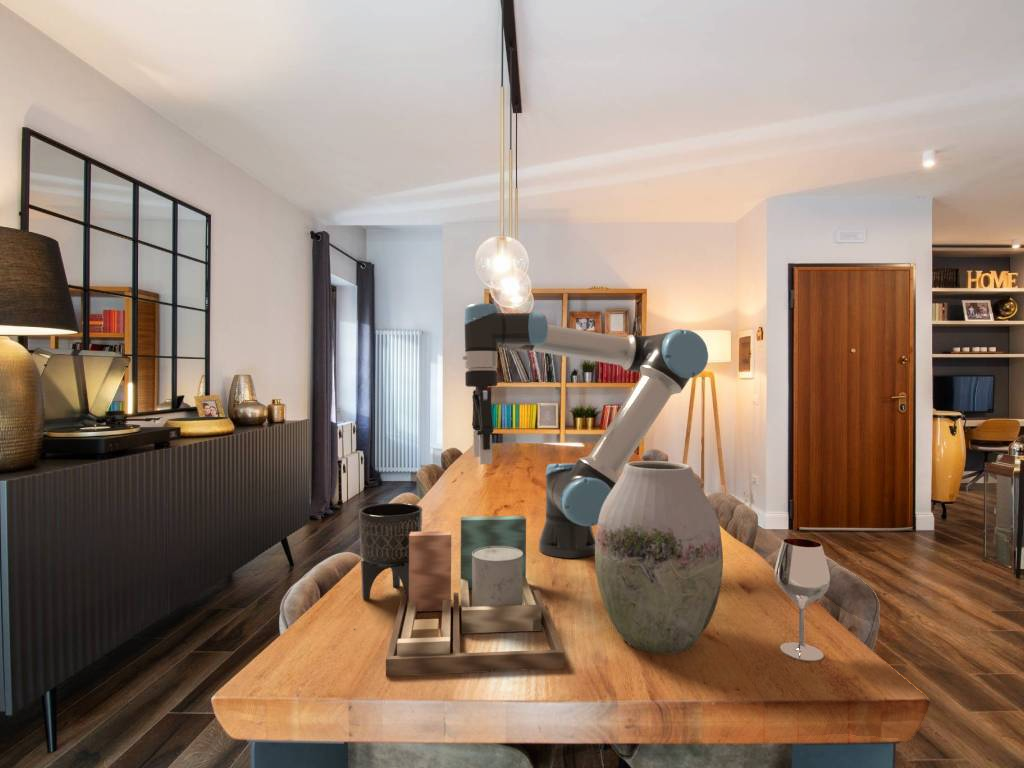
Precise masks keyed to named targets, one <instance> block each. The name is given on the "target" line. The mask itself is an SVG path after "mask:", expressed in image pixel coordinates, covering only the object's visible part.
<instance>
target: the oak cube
mask: <svg viewBox="0 0 1024 768" xmlns="http://www.w3.org/2000/svg"><path fill="white" fill-rule="evenodd" d="M439 626H440V625H439V618H428V619H427V618H425V619H423V618H422V619H418V618H417V619H415V621H414V626H413V636H412V638H434V637H439Z"/></svg>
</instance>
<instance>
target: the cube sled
mask: <svg viewBox="0 0 1024 768" xmlns="http://www.w3.org/2000/svg"><path fill="white" fill-rule="evenodd" d="M451 608H452V531H451V530H445V531H444V530H442V531H441V530H436V531H435V530H433V531H428V530H427V531H421V532H410V535H409V601H407V611H406V615H405V620H404V625H403V629H402V634H401V639H398V641H397V656H404V655H430V654H451V618H452V617H451V616H452V612H451V611H452V609H451ZM417 612H441V629H440V630H441V631H440V636H438V637H434V638H413V626H414V621H415V620H416V618H417Z"/></svg>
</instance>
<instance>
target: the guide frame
mask: <svg viewBox="0 0 1024 768" xmlns="http://www.w3.org/2000/svg"><path fill="white" fill-rule="evenodd" d="M459 598H460V595H459V592H453V601H452V602H453V604H452V605H453V609H452V611H453V615H452V616H453V617H452V618H453V620H452V622H453V623H452V624H453V625H452V632H453V633H452V638H453V639H452V653H450V654H430V655H404V656H397V641H398V639H401V635H402V631H403V626H404V621H405V616H406V612H407V607H408V601H407V594H404V593H402V594H401V597H400V601H399V604H398V605H399V606H398V609H397V614H396V617H395V621H394V626H393V630H392V632H391V638H390V641H389V646H388V649H387V653H386V658H385V677H392V676H394V677H396V676H419V675H422V676H423V675H439V674H440V675H443V674H463V673H465V674H466V673H467V674H468V673H487V672H489V673H490V672H509V671H515V672H516V671H533V670H537V671H538V670H554V669H555V670H557V669H564V668H565V666H564V665H565V653H564V650H563V649H564V648H563V646H562V644H561V642H560V639H559V637H558V634H557V631H556V629H555V626H554V625H553V622H552V620H551V617H550V614H549V611H548V610H547V607H546V605H545V602H544V599H543V597H542V595H541V592H540V590H539V589H536V590H535V589H534V590H533V598H534V601H535V604H536V605H540V606H541V628H542V629H543V633H544V636H545V638H546V642H547V644H548V647H549V649H539V650H535V649H534V650H531V649H530V650H512V651H510V650H508V651H485V652H483V651H482V652H481V651H480V652H462V653H461V652H460V650H461V649H460V605H459V603H460V599H459Z"/></svg>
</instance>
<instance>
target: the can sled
mask: <svg viewBox="0 0 1024 768" xmlns="http://www.w3.org/2000/svg"><path fill="white" fill-rule="evenodd" d="M488 546H507V547H513V548H517V549H519V550H521V551H522V552H523V563H522V602H523V604H522V605H513V606H482V607H472V606H470V593H469V589H472V552H473V551H474V550H476V549H478V548H482V547H488ZM526 573H527V519H526V516H525V515H509V516H505V515H504V516H502V515H501V516H461V517H460V583H459V585H460V608H461V609H460V613H461V634H479V633H481V634H482V633H483V634H484V633H507V632H510V633H511V632H535V631H542V625H541V606H540V605H536V604H535V601H534V594H533V593H532V591H531V590H532V589H531V588H530V585H529V582H528V580H527V576H526V575H527V574H526Z"/></svg>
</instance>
